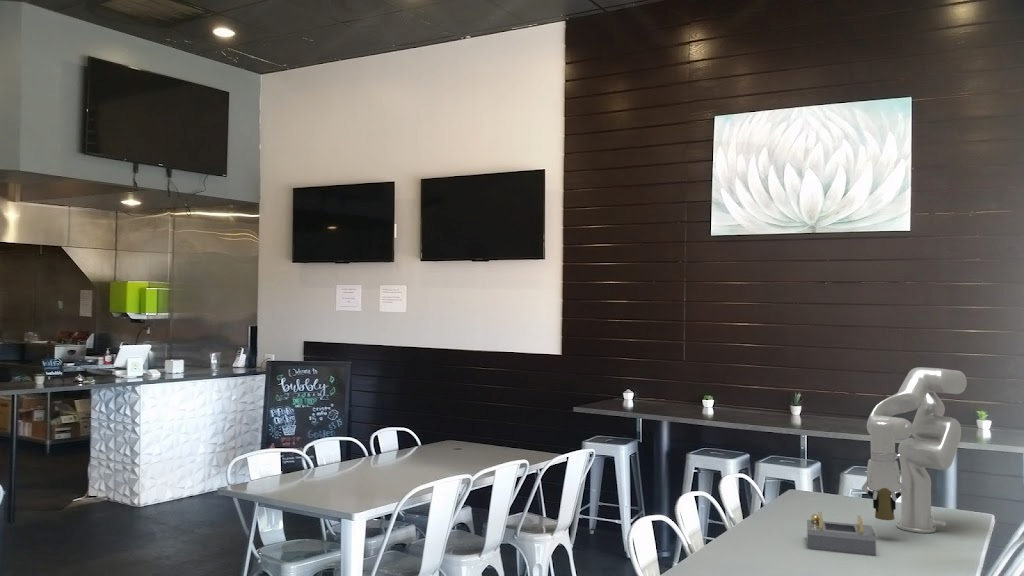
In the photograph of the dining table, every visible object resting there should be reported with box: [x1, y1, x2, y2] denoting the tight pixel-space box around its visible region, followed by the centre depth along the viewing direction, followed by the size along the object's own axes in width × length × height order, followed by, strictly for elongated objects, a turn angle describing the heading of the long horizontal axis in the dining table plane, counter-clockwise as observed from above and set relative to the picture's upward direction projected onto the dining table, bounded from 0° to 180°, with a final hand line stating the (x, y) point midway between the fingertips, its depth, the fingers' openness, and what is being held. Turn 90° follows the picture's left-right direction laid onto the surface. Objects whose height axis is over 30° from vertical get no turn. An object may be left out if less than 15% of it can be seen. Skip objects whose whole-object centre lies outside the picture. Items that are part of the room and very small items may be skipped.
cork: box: [874, 488, 896, 521], centre depth 271 cm, size 6×6×11 cm
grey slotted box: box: [806, 511, 877, 557], centre depth 262 cm, size 20×14×10 cm
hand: (884, 510), depth 271 cm, fingers closed on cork, 4 cm apart
